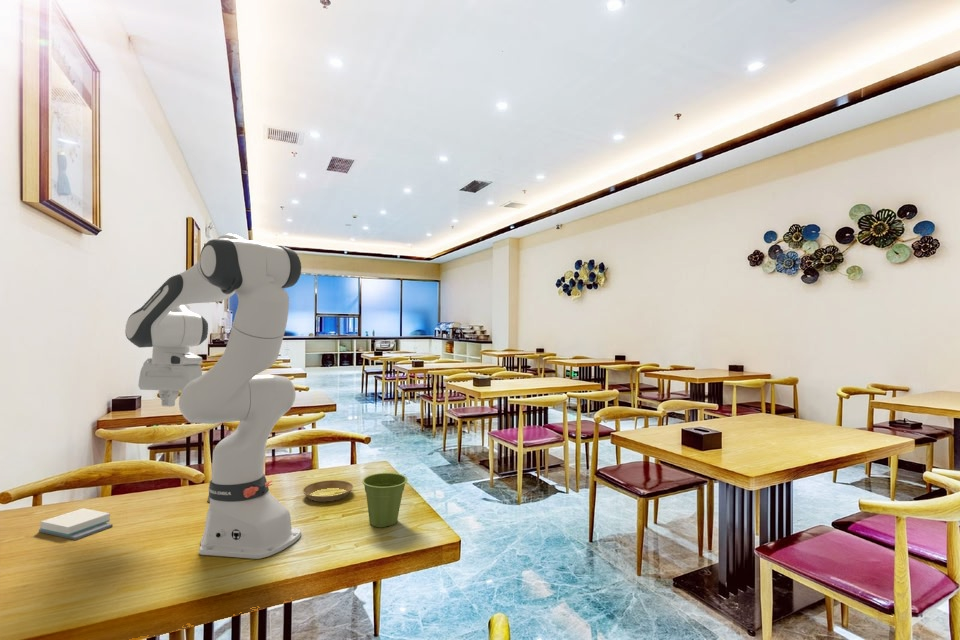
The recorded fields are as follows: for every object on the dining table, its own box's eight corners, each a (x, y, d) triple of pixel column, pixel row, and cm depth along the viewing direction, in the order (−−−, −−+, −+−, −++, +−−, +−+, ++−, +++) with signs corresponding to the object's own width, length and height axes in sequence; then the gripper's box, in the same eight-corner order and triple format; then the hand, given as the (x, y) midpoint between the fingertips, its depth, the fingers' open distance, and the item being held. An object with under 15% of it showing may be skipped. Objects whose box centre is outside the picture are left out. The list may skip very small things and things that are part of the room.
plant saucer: (361, 490, 143) (361, 482, 143) (336, 507, 128) (337, 498, 128) (320, 486, 146) (320, 478, 146) (291, 502, 132) (292, 493, 132)
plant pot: (359, 533, 111) (360, 487, 111) (362, 514, 123) (363, 473, 123) (407, 530, 113) (408, 485, 114) (405, 512, 125) (406, 471, 125)
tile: (110, 513, 114) (68, 527, 105) (109, 521, 114) (68, 535, 105) (83, 508, 117) (40, 521, 108) (82, 515, 117) (40, 529, 108)
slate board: (112, 526, 112) (112, 524, 112) (75, 540, 104) (75, 537, 105) (76, 519, 116) (77, 517, 116) (38, 531, 108) (38, 529, 108)
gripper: (133, 358, 130) (130, 406, 129) (187, 358, 124) (184, 408, 123) (154, 358, 136) (152, 404, 135) (207, 358, 130) (204, 406, 129)
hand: (168, 406), depth 129 cm, fingers closed
